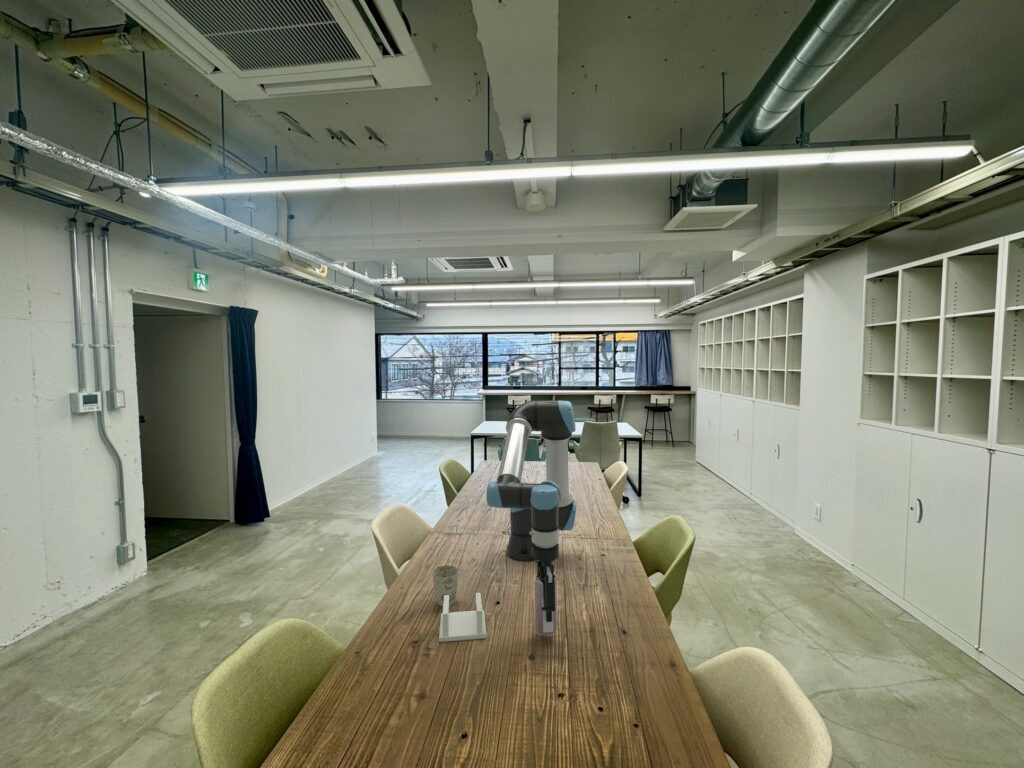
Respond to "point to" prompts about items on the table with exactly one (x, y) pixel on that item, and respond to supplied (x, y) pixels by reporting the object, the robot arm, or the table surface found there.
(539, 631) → the beverage can
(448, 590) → the mug
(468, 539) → the table surface
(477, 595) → the holder
